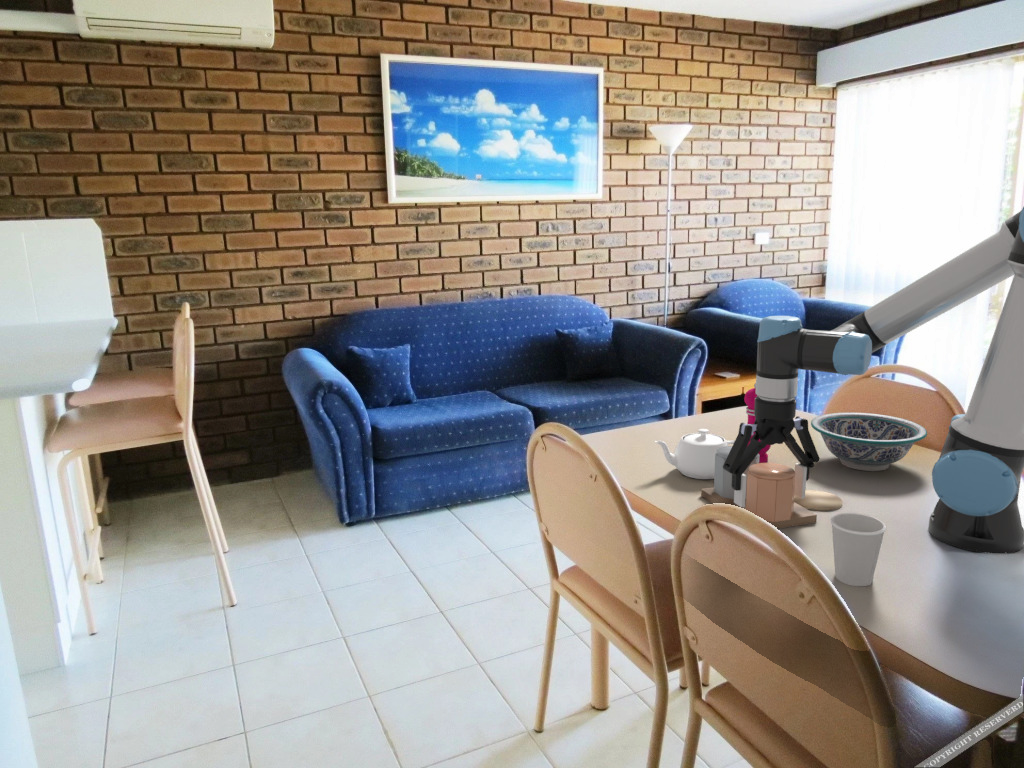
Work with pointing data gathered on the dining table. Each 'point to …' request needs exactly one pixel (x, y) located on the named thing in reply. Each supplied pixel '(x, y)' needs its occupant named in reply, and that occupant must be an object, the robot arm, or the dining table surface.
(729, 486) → the grey faceted canister
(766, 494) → the peach faceted canister
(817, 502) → the coaster
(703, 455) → the teapot
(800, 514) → the board
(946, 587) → the dining table surface
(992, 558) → the dining table surface
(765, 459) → the pepper mill
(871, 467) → the bowl
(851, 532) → the dixie cup
